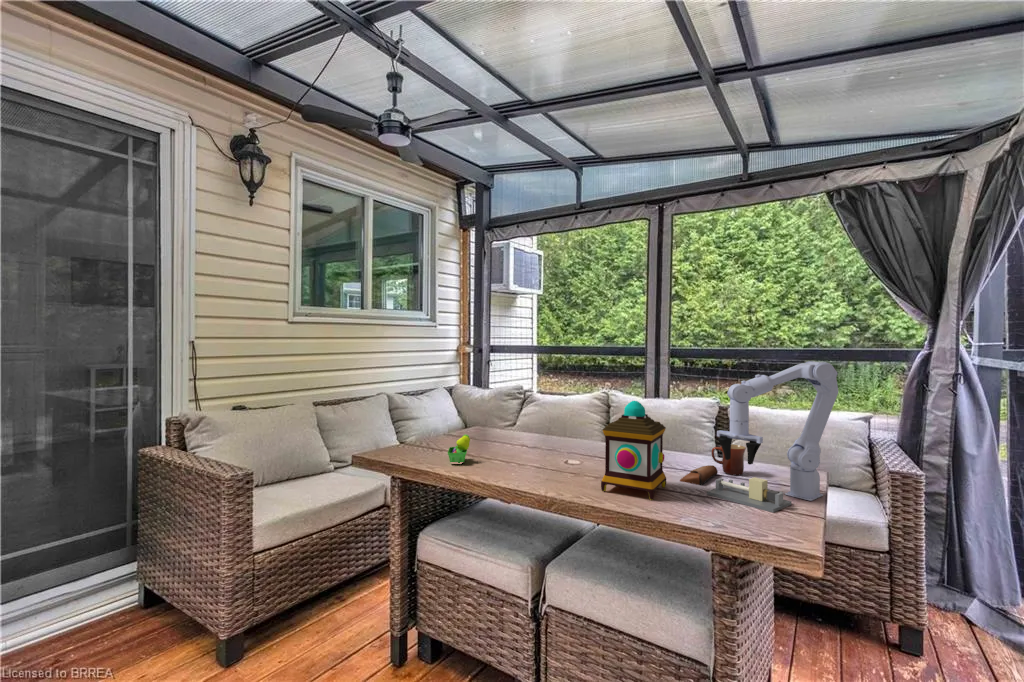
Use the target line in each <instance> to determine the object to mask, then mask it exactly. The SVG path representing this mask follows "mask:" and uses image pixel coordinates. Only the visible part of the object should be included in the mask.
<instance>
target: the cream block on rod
mask: <svg viewBox="0 0 1024 682" xmlns="http://www.w3.org/2000/svg"><path fill="white" fill-rule="evenodd" d="M768 485H769V484H768V479H764V478H760V477H755V476H754V477H751V478H749V479H748V487H749V498H751V499H755V500H759V501H763V499H766V500H767V498H764V496H763V491H764V490H765V489H766V490H768V489H769V488H768Z"/></svg>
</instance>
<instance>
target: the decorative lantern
mask: <svg viewBox="0 0 1024 682" xmlns="http://www.w3.org/2000/svg"><path fill="white" fill-rule="evenodd" d="M666 429H667V428H666V426H665V425H664V424H662V423H661V422H660V421H655V419H653V418H651V416H648V413H647V414H646V408H645V406H643V404H642V403H641V402H640V401H637V400H632V401H630V402H628V403H627V404H626V406H624V409H623V414H621V416H619V418H618V419H616V420H614V421H611V422H609V423H608V424H607V425H605V426H604V427H603V429H602V434H604V437H605V438H604V439H605V448H604V449H605V451H604V452H605V455H604V456H605V463H604V465H605V468H604V469H605V470H604V475H603V476H602V479H601V481H600V490H601V491H602V492H603V491H605V492H606V491H607V485H608V486H609V485H610V486H615V487H621V488H628V489H633V490H639V491H645V492H647V493H648V498H649V500H650V501H653V500H654V497H655V496H654V495H655V491H656V490H657V489H658V488H659V487H660V486H661V487H662V488H666V485H667V477H666V474H665V473H664V470H663V462H664V461H665V454H664V453H663V439H664V438H663V436H664V434H665V431H666Z"/></svg>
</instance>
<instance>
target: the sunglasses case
mask: <svg viewBox="0 0 1024 682" xmlns="http://www.w3.org/2000/svg"><path fill="white" fill-rule="evenodd" d="M718 473H719V472H718V468H717V467H716V466H715V465H711V464H708V465H704V466H700V467H697V468H694V469H692V470H690V472H689V473H687V474H686V475H683V476H682V477H681V478H680V479H679V482H682V483H687V484H692V485H698V486H702V485H704V484H705V483H706V482H708V481H709V479H712V477H714V476H717V475H718Z"/></svg>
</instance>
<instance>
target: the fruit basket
mask: <svg viewBox="0 0 1024 682" xmlns="http://www.w3.org/2000/svg"><path fill="white" fill-rule="evenodd" d="M470 442H471V438H470V435H469V434H463V435H462V436H461V437H460V438H459V439H457V440H456V445H455V446H451V447H448V450H447V455H448V459H449V462H458V463H460V462H464V463H465V461H466V459H465V458H466V456H467V452H468V449H469V448H470V444H471V443H470Z"/></svg>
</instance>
